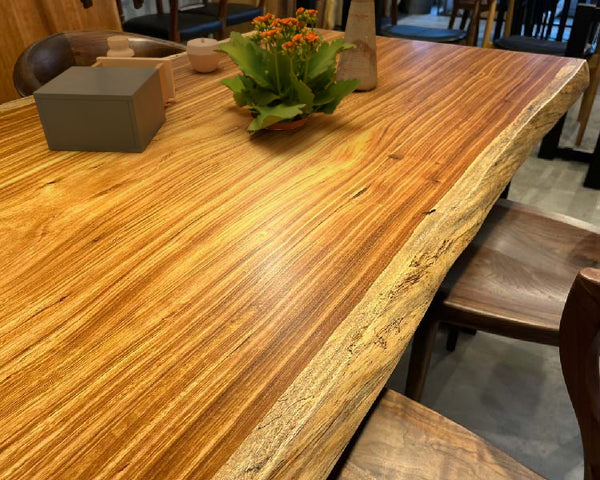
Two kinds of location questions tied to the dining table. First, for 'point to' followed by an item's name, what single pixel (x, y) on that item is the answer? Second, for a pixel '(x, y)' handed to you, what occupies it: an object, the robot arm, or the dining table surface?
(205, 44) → the lidded pot
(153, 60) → the drawer
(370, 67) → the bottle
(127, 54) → the pill bottle
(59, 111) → the dark grey box
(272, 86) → the potted flower
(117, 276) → the dining table surface
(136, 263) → the dining table surface
